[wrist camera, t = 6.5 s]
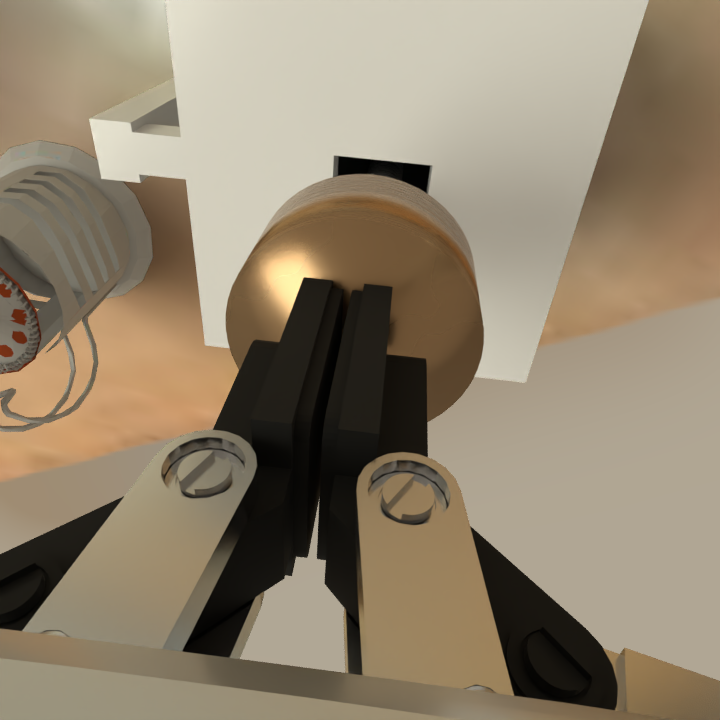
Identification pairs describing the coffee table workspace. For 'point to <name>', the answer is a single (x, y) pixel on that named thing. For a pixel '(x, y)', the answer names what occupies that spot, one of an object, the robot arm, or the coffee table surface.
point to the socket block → (386, 129)
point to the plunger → (369, 272)
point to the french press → (61, 255)
